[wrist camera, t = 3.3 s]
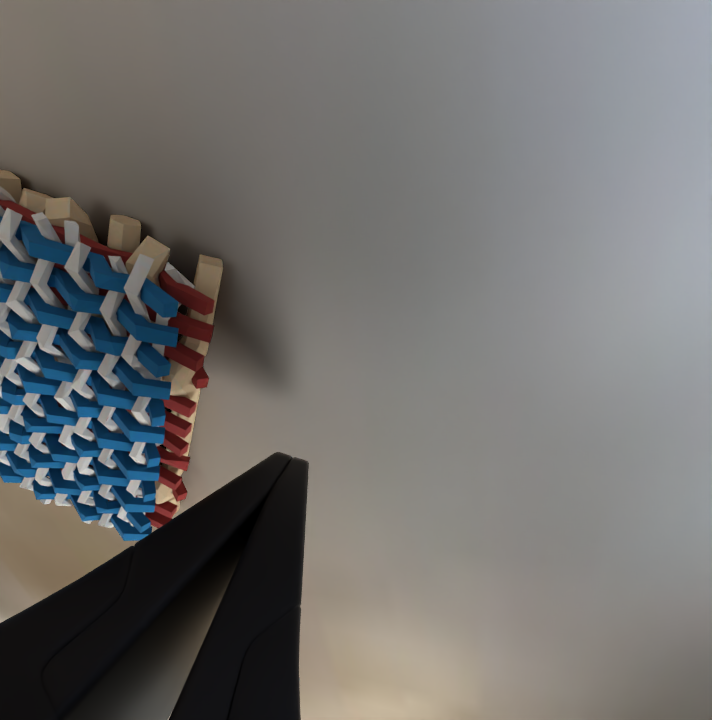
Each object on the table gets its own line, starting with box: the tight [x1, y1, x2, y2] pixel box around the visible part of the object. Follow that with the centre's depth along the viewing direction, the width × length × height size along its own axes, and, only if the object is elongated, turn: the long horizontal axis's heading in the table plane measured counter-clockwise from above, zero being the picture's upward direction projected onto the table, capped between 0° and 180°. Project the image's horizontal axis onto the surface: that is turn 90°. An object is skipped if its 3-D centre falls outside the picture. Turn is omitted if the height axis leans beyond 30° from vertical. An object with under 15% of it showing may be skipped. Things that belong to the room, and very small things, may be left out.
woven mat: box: [0, 170, 223, 541], centre depth 10 cm, size 10×11×2 cm
